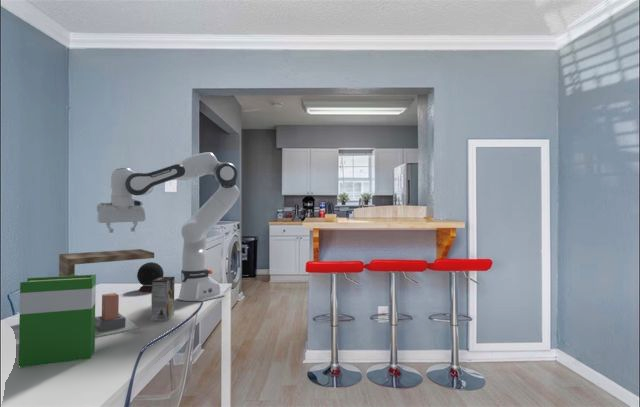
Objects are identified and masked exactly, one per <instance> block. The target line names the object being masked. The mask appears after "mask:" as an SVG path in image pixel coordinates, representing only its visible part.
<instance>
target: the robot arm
mask: <svg viewBox="0 0 640 407" xmlns="http://www.w3.org/2000/svg"><path fill="white" fill-rule="evenodd" d="M238 174H239V172H238V169H237V167H236V165H234V164H233V163H230V162H227V161H226V162H225V161H224V162H220V161H218V159H217V157H216V155H215V154H214V153H213V152H210V151H208V152H207V151H205V152H202V153H201V152H200V153H197V154H194V155H190V156H187V157H185V158H182V159H180V160H179V161H177V162H175V163H173V164H171V165H169V166H166V167H163V168H161V169H156V170H154V171H150V172H145V173H142V172H136V171H133V170H132V169H131V168H129V167H122V168H116V169H114V170H113V171H112V172H111V176H110V177H111V178H110V188H111V195H110V202H100V203H98V204H97V206H96V212H97V218H96V221H97V223H99V224H105V226H106V228H108V233H109V234H110V233H114V228H112V227H111V224H112V223H113V224H114V223H132V224H133V226H132V227H130V232H136V228H137V226H138V223H139V222H145V220H146V211H145V208H144V207H143V205H144V202H143V201H141V200H136V199H133V195H134V196H147V195H150V194H151V193H152V192H153V190H154V187H155V186H158V185H161V184H164V183H167V182H170V181H171V182H172V181H190V180H195V179H198V178H201V177H204V176H207V175H212V176H213V178H214V179H215V180H216V181H217V183H219V186H218V189H216V191H215V192H214V193H213V194H212V195H211V196H210V197H209V199H207V201H205V202H204V204H203V205H202V206H201V207H200V208H199V209H198V210H197V211H196V212H195V213H194V214H193V215H192V216H191V217H190V218H188V220H187V221H186V222H185V223H184V224H183V225H182V227H181V236H182V239H183V246H182V247H183V248H182V255H181V256H182V258H181V260H182V261H181V262H182V268H181V271H180V282H181V283H180V284H181V286H180V291H179V295H178V297H177V298H178V300H180V301H186V302H203V301H204V302H205V301H208V300H212V299H216V298H217V299H218V298H222V297H225V295H226V294H225V292H223V291H221V287H220V286H221V285H220V283H219V282H218V281H216V280H215V279H214V278H213V277H211V276H209V275H212V274H213V270H211V269H207V268H206V259H207V258H206V257H207V256H206V254H207V253H206V250H207V237H208V236H207V234H209V232H210V231H211V230H212V229H213V228H214V227H215V226H216V225H217V224H218V223H219V221H220V220H221V219H223V217H224V216H225V215H226V214H227V213H228V212H229V211H230V209H231V208H232V207H233V206H234V205H235V203H236V202H237V200H238V199H239V197H240V196H241V191H240V189H239V187H238V186H237V185H236V183H237V179H238Z"/></svg>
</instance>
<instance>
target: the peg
mask: <svg viewBox="0 0 640 407" xmlns="http://www.w3.org/2000/svg"><path fill="white" fill-rule="evenodd" d="M119 298H120V295H119V294H118V293H117V292H111V293H103V294H102V295H101V316H102V320H103V321H105V320H111V319H117V318H118V313H119V304H120V303H119V300H120V299H119Z"/></svg>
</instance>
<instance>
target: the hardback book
mask: <svg viewBox="0 0 640 407" xmlns="http://www.w3.org/2000/svg"><path fill="white" fill-rule="evenodd" d="M96 285H97V274H81V275H80V274H79V275H75V276H59V275H58V276H40V277H39V276H38V277H27V280H26V281H20V283H19V328H18V330H19V331H18V334H19V335H18V336H19V337H18V367H19V366H20V367H21V368H28V367H34V366H43V365H51V364H57V363H59V364H60V363H68V362H76V361H83V360H91V359H92V357H93V354H94V352H95V350H96V349H95V343H96V342H95V339H96V338H95V317H96V293H97V292H96V291H97V290H96V289H97V288H96Z"/></svg>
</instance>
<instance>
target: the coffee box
mask: <svg viewBox="0 0 640 407" xmlns="http://www.w3.org/2000/svg"><path fill="white" fill-rule="evenodd" d="M150 304H151V306H150V307H151V308H150V309H151V310H150V311H151V314H150V315H151V319H150V320H151V322H157V321H162V322H163V321H168V320H169V319H170V318H171V317H173V316H174V315H175V276H163V277H159V278H157V279H155V280H153V281H152V292H151V303H150Z"/></svg>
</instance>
